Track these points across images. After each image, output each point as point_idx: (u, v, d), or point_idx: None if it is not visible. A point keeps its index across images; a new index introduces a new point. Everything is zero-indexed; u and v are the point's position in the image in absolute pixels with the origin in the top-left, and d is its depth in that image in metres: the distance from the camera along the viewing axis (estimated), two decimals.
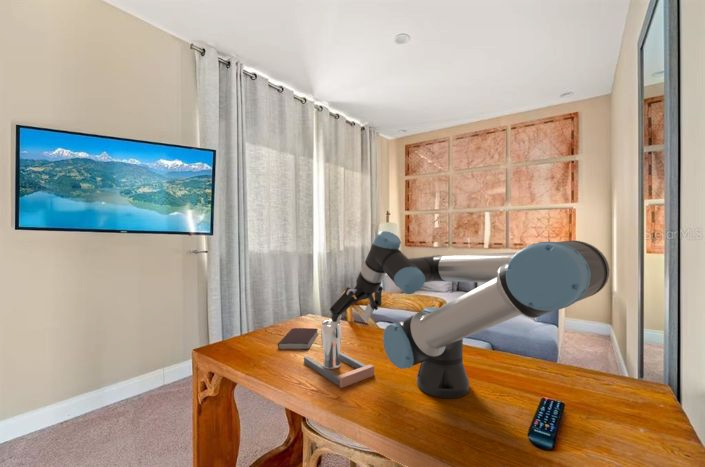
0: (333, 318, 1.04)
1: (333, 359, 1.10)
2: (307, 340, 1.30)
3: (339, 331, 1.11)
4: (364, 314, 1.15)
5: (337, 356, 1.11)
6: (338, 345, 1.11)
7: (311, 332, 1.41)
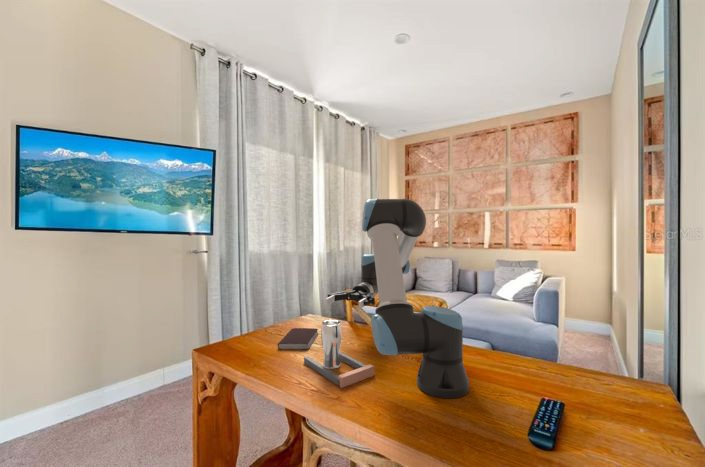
0: None
1: (333, 359, 1.10)
2: (307, 340, 1.30)
3: (339, 331, 1.11)
4: None
5: (337, 356, 1.11)
6: (338, 345, 1.11)
7: (311, 332, 1.41)
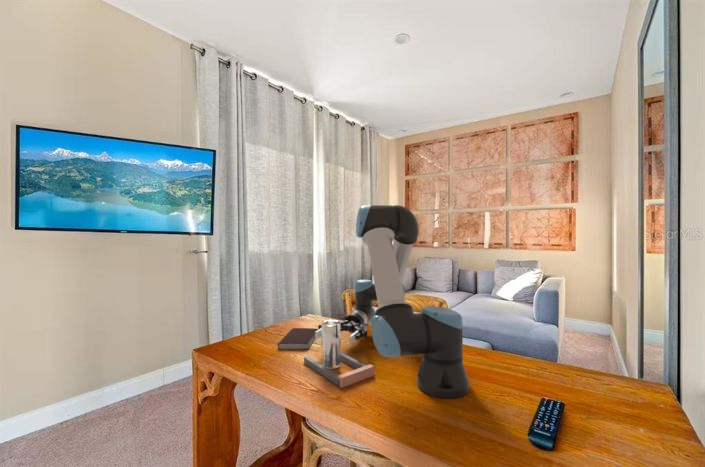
0: None
1: (333, 359, 1.10)
2: (307, 340, 1.30)
3: (339, 331, 1.11)
4: None
5: (337, 356, 1.11)
6: (338, 345, 1.11)
7: (311, 332, 1.41)
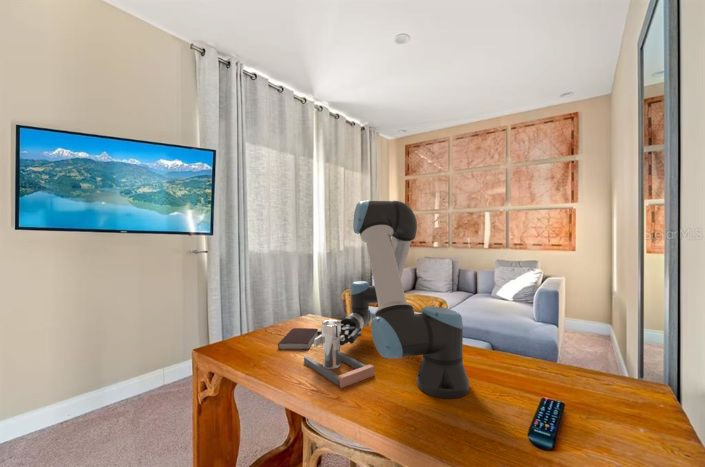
0: None
1: (333, 359, 1.10)
2: (307, 340, 1.30)
3: (339, 331, 1.11)
4: None
5: (337, 356, 1.11)
6: None
7: (311, 332, 1.41)
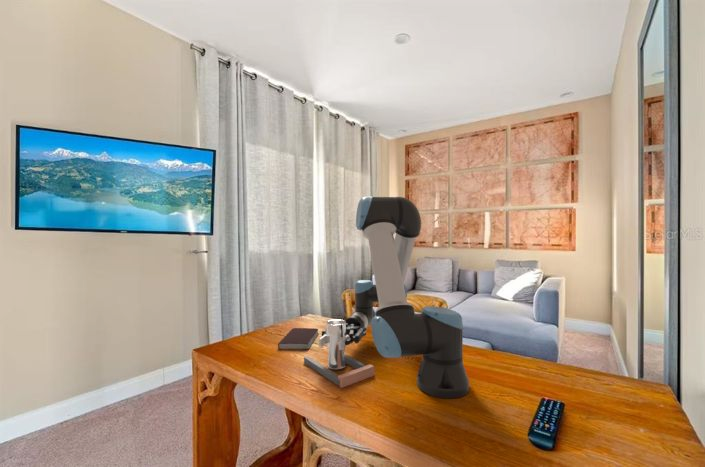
0: None
1: (338, 359, 1.08)
2: (307, 340, 1.30)
3: (344, 330, 1.09)
4: None
5: (342, 356, 1.09)
6: None
7: (311, 332, 1.41)
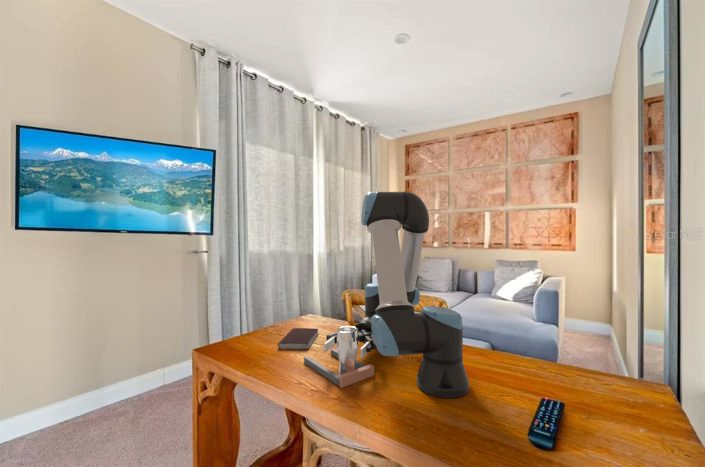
0: None
1: (350, 368, 1.03)
2: (307, 340, 1.30)
3: (356, 338, 1.03)
4: None
5: (354, 365, 1.04)
6: (355, 353, 1.03)
7: (311, 332, 1.41)
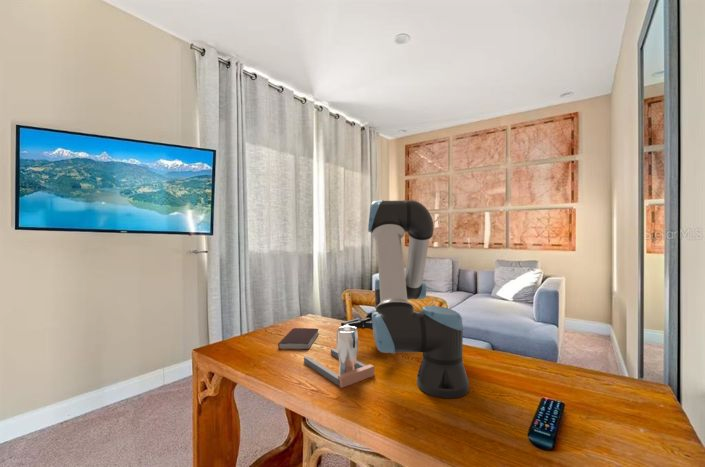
0: None
1: (350, 368, 1.03)
2: (307, 340, 1.30)
3: (356, 338, 1.03)
4: None
5: (354, 365, 1.04)
6: (355, 353, 1.03)
7: (312, 332, 1.41)
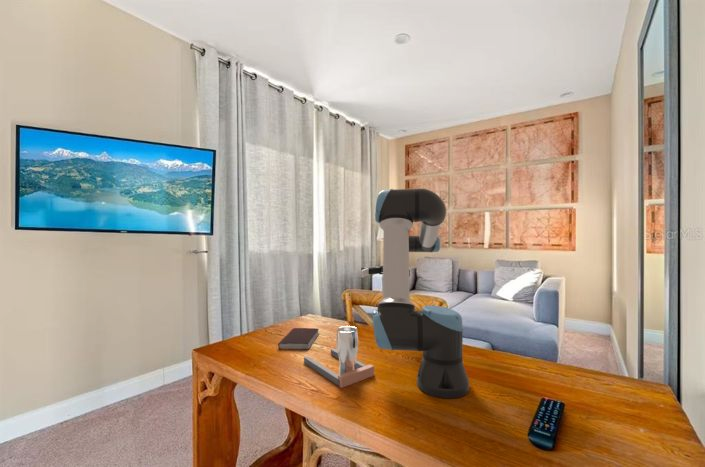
0: None
1: (350, 368, 1.03)
2: (307, 340, 1.30)
3: (356, 338, 1.03)
4: None
5: (354, 365, 1.04)
6: (355, 353, 1.03)
7: (312, 332, 1.41)
